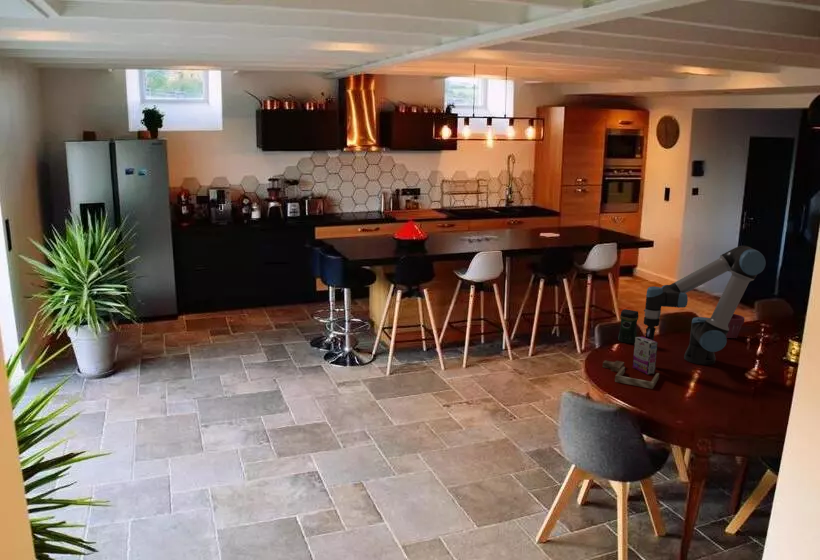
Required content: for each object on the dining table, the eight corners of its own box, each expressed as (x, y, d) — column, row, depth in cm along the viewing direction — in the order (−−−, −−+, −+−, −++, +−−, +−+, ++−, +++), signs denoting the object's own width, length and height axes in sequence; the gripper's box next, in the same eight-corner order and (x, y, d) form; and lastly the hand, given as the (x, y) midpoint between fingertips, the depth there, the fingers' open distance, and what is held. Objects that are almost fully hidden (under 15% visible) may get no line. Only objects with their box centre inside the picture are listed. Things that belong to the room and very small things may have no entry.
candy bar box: (655, 373, 340) (658, 342, 336) (647, 375, 338) (650, 343, 334) (639, 366, 350) (642, 335, 346) (631, 367, 348) (634, 336, 344)
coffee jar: (638, 341, 391) (641, 310, 387) (633, 345, 385) (636, 313, 381) (621, 338, 397) (624, 307, 393) (616, 341, 391) (619, 310, 387)
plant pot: (738, 334, 409) (741, 313, 406) (744, 341, 396) (747, 320, 393) (713, 332, 412) (715, 311, 409) (717, 339, 399) (720, 318, 396)
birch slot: (658, 379, 333) (659, 373, 332) (652, 388, 320) (653, 382, 319) (622, 372, 341) (622, 366, 341) (614, 381, 328) (615, 375, 328)
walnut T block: (623, 366, 350) (624, 362, 349) (619, 372, 341) (619, 367, 341) (605, 363, 354) (606, 358, 353) (600, 368, 345) (601, 364, 345)
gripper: (647, 313, 354) (642, 356, 359) (641, 318, 343) (637, 363, 348) (662, 315, 350) (657, 359, 355) (657, 321, 339) (652, 366, 344)
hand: (647, 361), depth 352 cm, fingers closed
